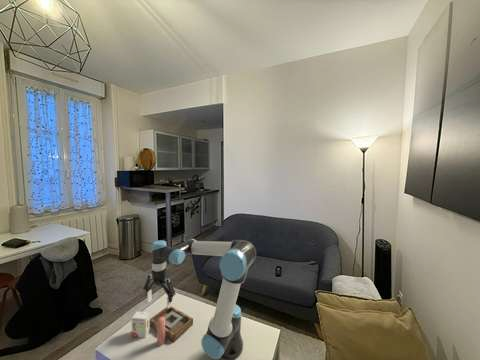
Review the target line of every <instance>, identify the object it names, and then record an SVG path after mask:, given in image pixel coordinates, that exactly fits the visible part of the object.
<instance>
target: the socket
mask: <svg viewBox="0 0 480 360" xmlns="http://www.w3.org/2000/svg"><path fill="white" fill-rule="evenodd" d="M171 319H173V320H175V321H174V322H173V323H171V324H170V323H169V321H170V320H171ZM182 322H183V317H182V316H180V315H178V314H177V313H175V312H173V311H172V312H170V313H169V314H168V315H166V316H165V328H167V329H169V330H170V331H173V330H174V329H175V328H176V327H178V326H179V325H180V324H181V323H182Z"/></svg>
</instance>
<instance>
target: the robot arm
mask: <svg viewBox="0 0 480 360" xmlns="http://www.w3.org/2000/svg"><path fill="white" fill-rule="evenodd" d="M188 255H199V256H200V255H201V256H203V255H204V256H214V257H215V256H217V257H221V258H220V261H219V270H220V275H221V277H222V280H221V281H222V282H221V286H220V289H219V294H218V299H217V301H216V307H215V311H214V315H213V316H212V317H211V318H210V319H209V322H208V326H207V330H206V333H205V334H203V336H202V338H201V346H202V350H203V351H204V353H205V354H206V355H207V356H208V357H209V358H211V359H213V360H218V359H219V360H220V358H222V359H224V360H235V359H236V358H238V357H239V356H241V354H242V352H243V350H244V349H243V348H244V340H243V338H242V334H241V328H242V327H241V325H242V310H241V309H242V308H241V307H240V306H239V305H238V304H236V303H237V299H238V296H239V292H240V288H241V286H242V285H241V284H243V283H244V282H245V281H246V279H247V275H248V271H249V268H250V266H252V264H253V263H254V262H255V260H256V257H257V249H256V247H255V246H254V244H253V243H252V242H250V241H248V240H244V239H243V240H242V239H233V240H232V241H212V240H211V241H210V240H209V241H207V240H206V241H205V240H204V241H203V240H196V239H195V238H190V239H188V240H186V241H183V242H182V243H180V244H178V245H176V246H173V247H172V246H168V245H167V242H166V241H165V240H161V239H160V240H156V241H153V243H152V245H151V273H150V274H148V275H147V279H146V281H145V283H144V286H143V291H145V292H146V293H145V295H146V298H147V299H146V303H147V304H150V303H151V301H153V299H152V297H153V294H152V293H153V292H152V288H153V287H154V286H160V288H162V289H163V290H164V292H165V294H166V295H167V297H166V307H167V309H169V307H170V306H171V307H172V302H173V298H174V296H176V291H175V289H174V287H173V283H172V278H171V277H168V278H167V277H166V275H167V263H169V264H171V265H178V266H179V265H181V264H182V263H183V261H185V258H186V257H187V256H188ZM152 280H153V281H152ZM151 281H152V282H151Z"/></svg>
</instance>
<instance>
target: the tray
mask: <svg viewBox="0 0 480 360" xmlns="http://www.w3.org/2000/svg"><path fill="white" fill-rule="evenodd" d="M172 311H173V312H175V313H177V314H178V315H180V316H182V317H183V322H182V323H181V324H180V325H179V326H178V327H176V328H175V329H174V330H173V331H170V330H169V329H167V328H165V338H167V339H169V340H170V341H172V342H173V343H175V342H176V341H177V340H178V339H180V338H181V336H183V335H184V334H185V333H186V332H187V330H189V329H190V328H191V327H192V326H193V325H194V318H193V317H191V316H188V315H187V314H186V313H184V312H183V311H180V310H178V309H176V308H175V307H173V306H172V305H171V306H170V307H169V309H167V306H166V307H165V308H163V309H162V310H160V311H158V312H157V314H155V315H154V316H152V317H151V318H150V327H151V328H153V329H154V330H155V331H157V325H158V318H160V317H165V316H166V315H168V314H169V313H170V312H172ZM174 321H175V320H173V319H171V320H170V321H169V323H170V324H171V323H173V322H174Z"/></svg>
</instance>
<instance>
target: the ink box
mask: <svg viewBox="0 0 480 360" xmlns="http://www.w3.org/2000/svg"><path fill="white" fill-rule="evenodd" d="M150 317H151V316H150V312H145V311H136V312H135V313H134V314H133V316H132V317H131V338H147V336H148V334H149V332H150V327H151V326H150V319H151V318H150Z"/></svg>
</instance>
